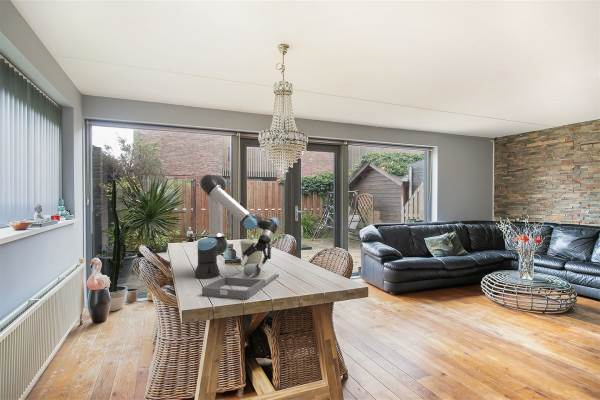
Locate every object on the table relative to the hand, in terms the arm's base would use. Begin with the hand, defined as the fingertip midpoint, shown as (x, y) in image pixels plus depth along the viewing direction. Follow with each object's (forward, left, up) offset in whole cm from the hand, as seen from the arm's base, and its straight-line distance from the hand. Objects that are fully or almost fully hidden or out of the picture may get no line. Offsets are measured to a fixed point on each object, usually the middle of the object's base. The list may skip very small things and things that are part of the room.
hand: (250, 266), depth 194 cm
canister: (-20, +46, -9) cm, 51 cm away
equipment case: (0, -10, -8) cm, 13 cm away
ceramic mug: (0, 0, -6) cm, 6 cm away
